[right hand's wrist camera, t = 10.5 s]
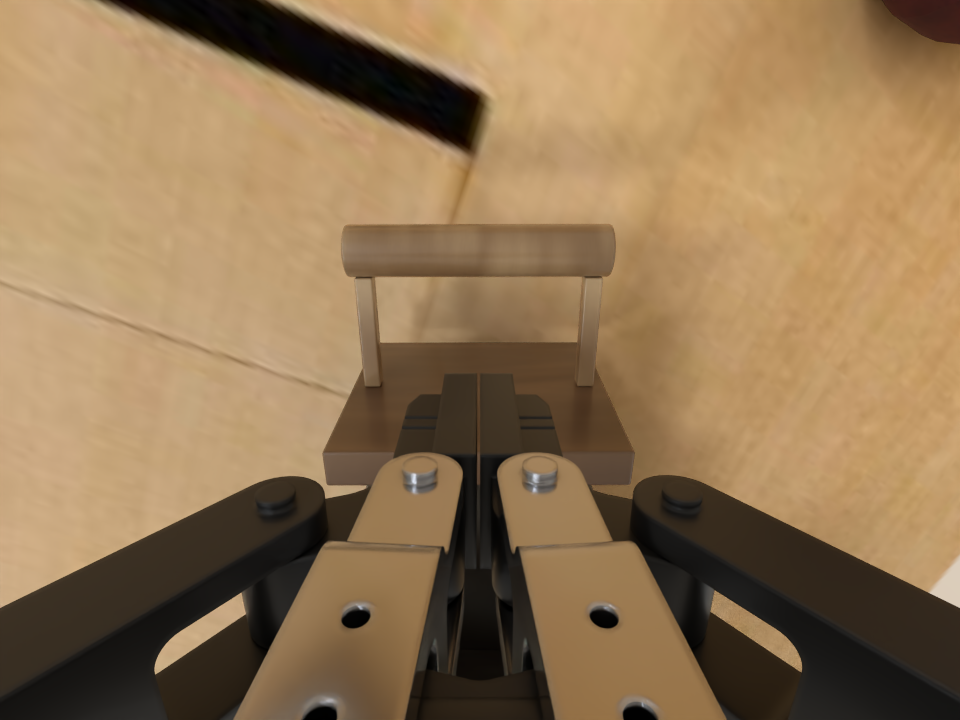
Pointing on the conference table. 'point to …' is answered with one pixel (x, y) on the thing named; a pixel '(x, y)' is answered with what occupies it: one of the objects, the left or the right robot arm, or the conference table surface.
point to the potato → (929, 17)
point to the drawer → (478, 369)
